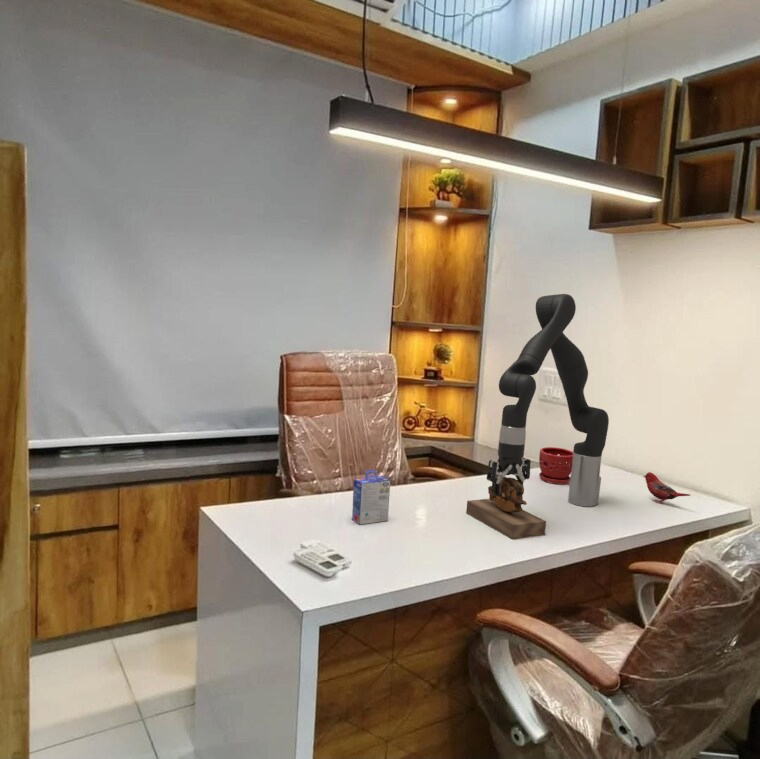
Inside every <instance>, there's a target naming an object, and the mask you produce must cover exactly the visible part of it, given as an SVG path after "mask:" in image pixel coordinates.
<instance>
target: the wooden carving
mask: <svg viewBox="0 0 760 759" xmlns="http://www.w3.org/2000/svg"><path fill="white" fill-rule="evenodd" d="M499 484H500V488H499V496H495V495H493V494H492V485H490V486H488V487H487V489H488V494H489V498H488V499H490V501H495V503H496V505H497V507H499V508H500V509H501V510H503V511H506V512H520V511H522V510H523V508H522V506H523V505H525V506H526V505H527V504H528V503H527V501H526V500H524V499H523V497H524V496H523V495H524V493H525V487H524V485H523V486H521V484H520V483H519V482H518V481H517V478H516V477H515V478H514V477H506V476H505V477H504V478H502V480H501V481H500V483H499Z"/></svg>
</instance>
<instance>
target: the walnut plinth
mask: <svg viewBox="0 0 760 759" xmlns="http://www.w3.org/2000/svg"><path fill="white" fill-rule="evenodd" d="M465 514H467V515H469V516H470V517H472V518H474V519H475V520H477V521H479V522H481V523H482V524H484V525H486V526H488V527H489V528H491V529H493V530H495V531H497V532H498V533H500V534H502V535H504V536H505V537H507V538H509V539H510V540H517V539H523V538H530V537H531V538H532V537H537V536H544V535H545V534H546V527H547V521H546V520H545V519H543V518H541V517H538V516H536V515H535V514H532V513H531V512H528V511H527V510H524V509H522V511H520V512H506V511H503V510H501V509H500V508H499V507H497V505H496V503H495V501H490V499H489V498H482V499H471V500H467V501H466V512H465Z"/></svg>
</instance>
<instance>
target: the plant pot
mask: <svg viewBox="0 0 760 759" xmlns="http://www.w3.org/2000/svg"><path fill="white" fill-rule="evenodd" d="M538 455H539V458H538V462H539V463H538V464H539V469H540V473H538V474H539V478H540V479H541V480H542V481H544V482H547V483H551V484H557V485H563V484H568V483H570V478H571V469H572V459H573V451H572V450H569V449H566V448H561V447H551V446H550V447H549V446H548V447H546V446H545V447H541V448H540V450H539V454H538Z"/></svg>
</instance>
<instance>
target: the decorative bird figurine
mask: <svg viewBox="0 0 760 759" xmlns="http://www.w3.org/2000/svg"><path fill="white" fill-rule="evenodd" d="M642 477H643V478H644V479H645V482H646V486H647V487H646V488H647V489H648V491H649V492H650V494H651V495H652V496H653V497H654V498H656V499H651V500H652V501H654V502H655V503H657V504H658V503H659V504H661V505H663V504H664V505H666V503H665V502H664V501H667V500H673V499H675V498H678V497H689V496H691V494H689V493H682V492H677V491H676V490H675V489H673V488H672V487H671V486H669V485H668V484H665V483H664V482H662V481H661V480H659V478H658V476H656V475H655V474H654V473H653V472H647V473H646V474H645V475H644V476H642ZM658 499H659V500H658Z"/></svg>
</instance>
